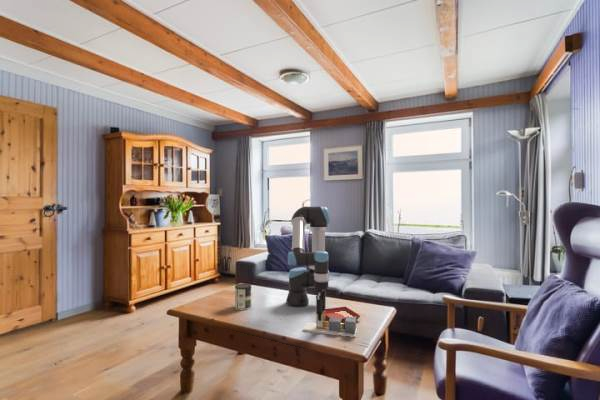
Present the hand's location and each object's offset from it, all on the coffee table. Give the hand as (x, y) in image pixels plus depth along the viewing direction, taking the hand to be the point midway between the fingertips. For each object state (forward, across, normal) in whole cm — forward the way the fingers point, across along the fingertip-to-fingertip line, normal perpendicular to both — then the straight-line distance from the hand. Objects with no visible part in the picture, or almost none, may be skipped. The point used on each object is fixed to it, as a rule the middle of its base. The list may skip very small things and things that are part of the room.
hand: (320, 324), depth 167 cm
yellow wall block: (+1, 0, +7) cm, 7 cm away
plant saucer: (+3, -20, +7) cm, 21 cm away
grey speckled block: (+3, 0, +8) cm, 8 cm away
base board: (+3, 0, +5) cm, 6 cm away
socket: (+3, 0, +16) cm, 16 cm away
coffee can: (+3, -19, -55) cm, 59 cm away
